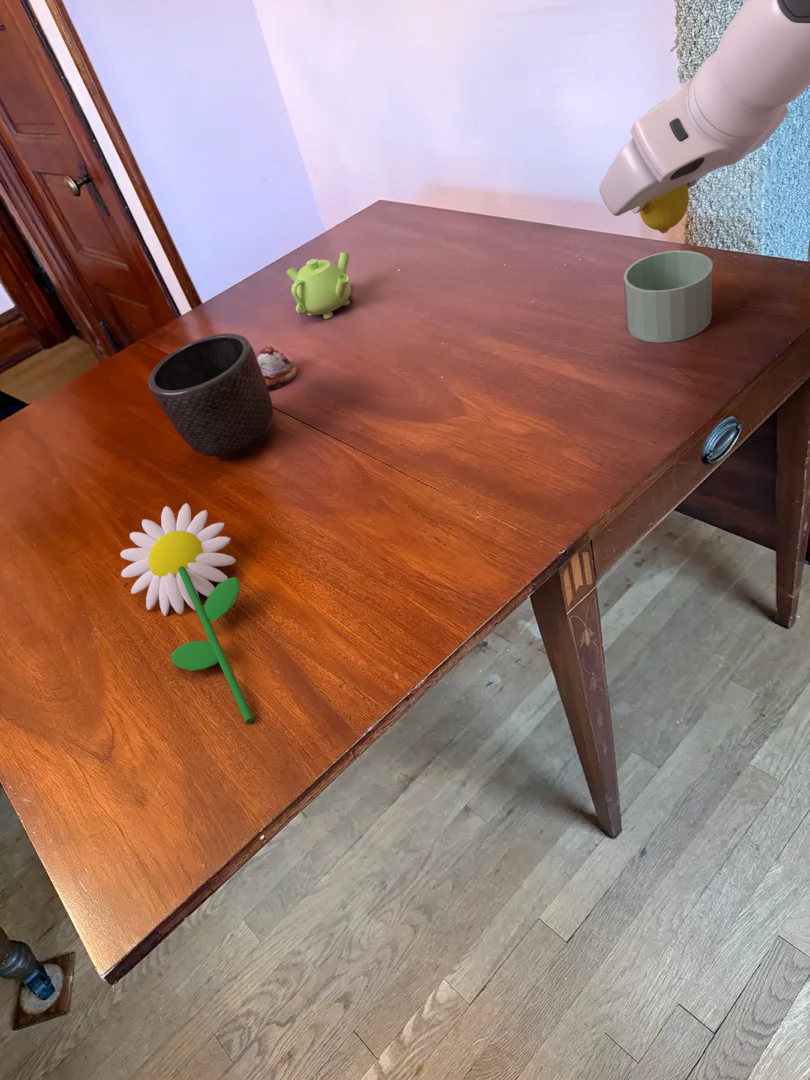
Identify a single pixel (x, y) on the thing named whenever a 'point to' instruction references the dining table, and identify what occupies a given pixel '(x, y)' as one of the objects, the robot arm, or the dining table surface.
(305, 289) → the teapot
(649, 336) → the cup
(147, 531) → the decorative flower
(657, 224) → the lemon
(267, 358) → the pastry
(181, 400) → the planter
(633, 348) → the dining table surface
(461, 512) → the dining table surface
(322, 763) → the dining table surface
